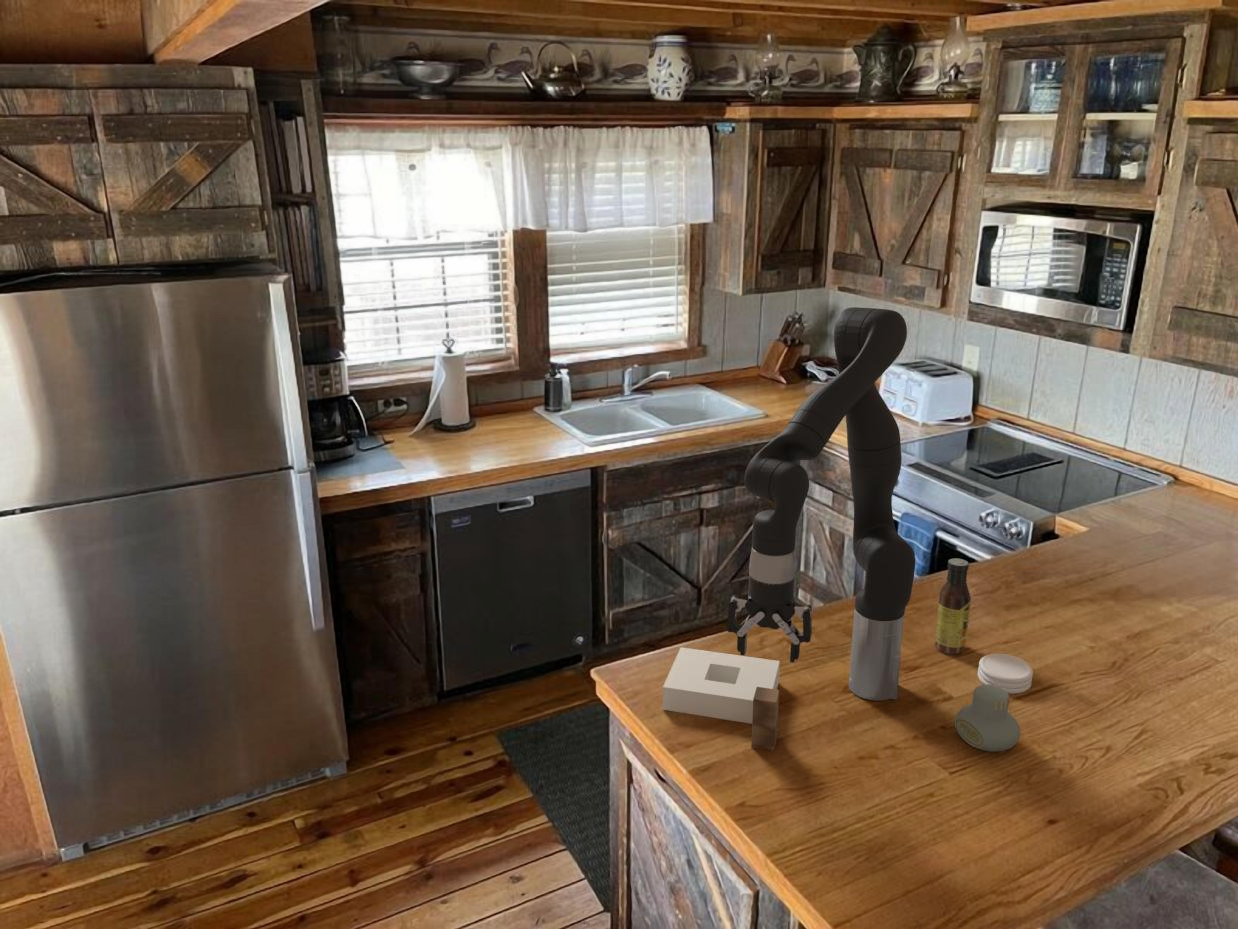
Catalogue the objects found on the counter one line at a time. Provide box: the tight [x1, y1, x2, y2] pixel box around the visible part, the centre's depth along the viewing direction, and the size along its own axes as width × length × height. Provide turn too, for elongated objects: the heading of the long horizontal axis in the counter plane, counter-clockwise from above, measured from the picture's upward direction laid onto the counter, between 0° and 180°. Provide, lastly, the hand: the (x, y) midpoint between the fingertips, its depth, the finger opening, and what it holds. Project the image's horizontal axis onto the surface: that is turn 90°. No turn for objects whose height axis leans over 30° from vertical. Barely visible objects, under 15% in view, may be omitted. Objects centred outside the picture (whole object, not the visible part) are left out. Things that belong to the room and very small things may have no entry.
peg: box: [750, 687, 780, 752], centre depth 166 cm, size 4×4×10 cm
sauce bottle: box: [934, 557, 972, 655], centre depth 194 cm, size 6×6×20 cm
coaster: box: [977, 653, 1034, 695], centre depth 185 cm, size 10×10×4 cm
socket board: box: [662, 646, 781, 724], centre depth 180 cm, size 20×15×5 cm
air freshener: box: [954, 684, 1021, 753], centre depth 165 cm, size 11×8×10 cm
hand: (767, 656), depth 161 cm, fingers open, 8 cm apart
